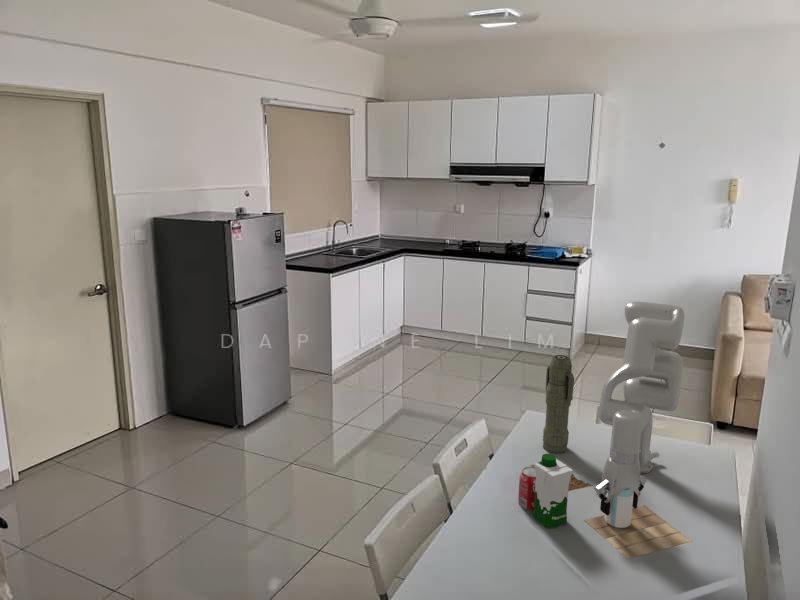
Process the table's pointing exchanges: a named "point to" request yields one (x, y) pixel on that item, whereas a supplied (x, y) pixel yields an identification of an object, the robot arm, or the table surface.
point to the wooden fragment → (575, 483)
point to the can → (620, 509)
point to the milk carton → (551, 491)
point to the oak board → (648, 540)
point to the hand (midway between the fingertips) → (618, 509)
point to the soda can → (527, 488)
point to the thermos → (558, 404)
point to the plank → (639, 520)
